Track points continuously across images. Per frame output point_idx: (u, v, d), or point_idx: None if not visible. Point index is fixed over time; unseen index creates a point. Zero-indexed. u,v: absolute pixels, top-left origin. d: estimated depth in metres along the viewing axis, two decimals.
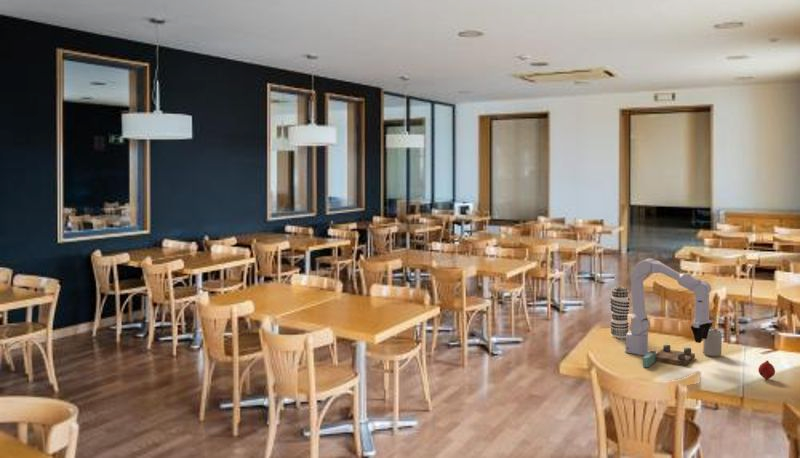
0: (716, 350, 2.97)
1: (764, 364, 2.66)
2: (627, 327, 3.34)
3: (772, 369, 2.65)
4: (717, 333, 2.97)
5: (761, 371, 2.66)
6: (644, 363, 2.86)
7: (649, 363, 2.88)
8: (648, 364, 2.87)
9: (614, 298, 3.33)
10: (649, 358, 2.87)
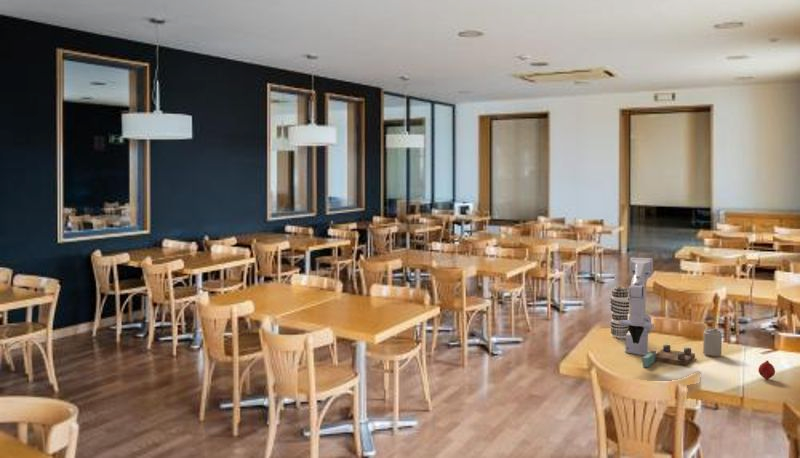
0: (716, 350, 2.97)
1: (764, 364, 2.66)
2: (627, 327, 3.34)
3: (772, 369, 2.65)
4: (717, 333, 2.97)
5: (761, 371, 2.66)
6: (644, 363, 2.86)
7: (649, 363, 2.88)
8: (648, 364, 2.87)
9: (614, 298, 3.33)
10: (649, 358, 2.87)
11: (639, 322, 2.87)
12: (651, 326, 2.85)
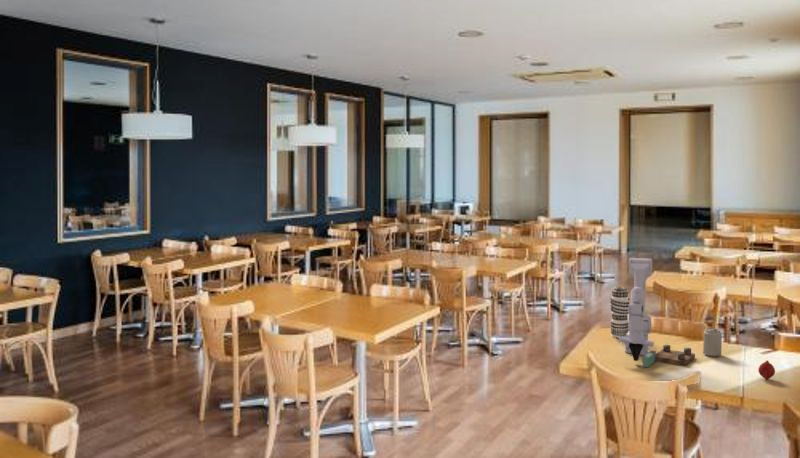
0: (716, 350, 2.97)
1: (764, 364, 2.66)
2: (627, 327, 3.34)
3: (772, 369, 2.65)
4: (717, 333, 2.97)
5: (761, 371, 2.66)
6: (644, 363, 2.86)
7: (649, 363, 2.88)
8: (648, 364, 2.87)
9: (614, 298, 3.33)
10: (649, 358, 2.87)
11: (639, 340, 2.88)
12: (651, 344, 2.86)
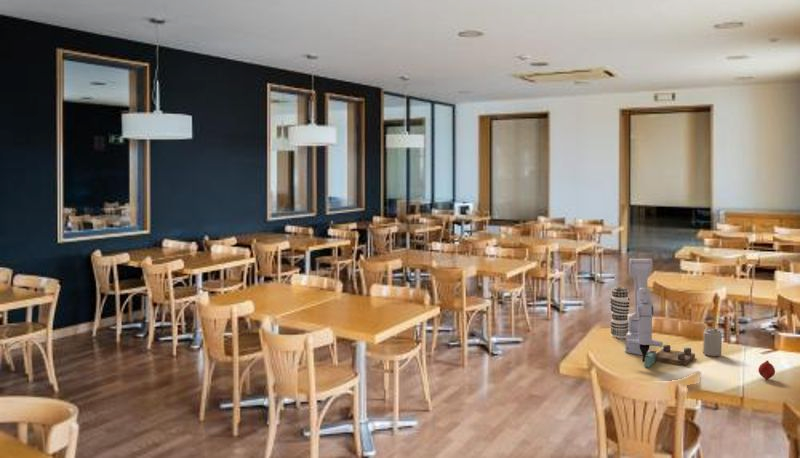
0: (716, 350, 2.97)
1: (764, 364, 2.66)
2: (627, 327, 3.34)
3: (772, 369, 2.65)
4: (717, 333, 2.97)
5: (761, 371, 2.66)
6: (646, 363, 2.86)
7: (650, 363, 2.87)
8: (650, 364, 2.86)
9: (614, 298, 3.33)
10: (650, 358, 2.87)
11: (649, 341, 2.86)
12: (661, 344, 2.85)
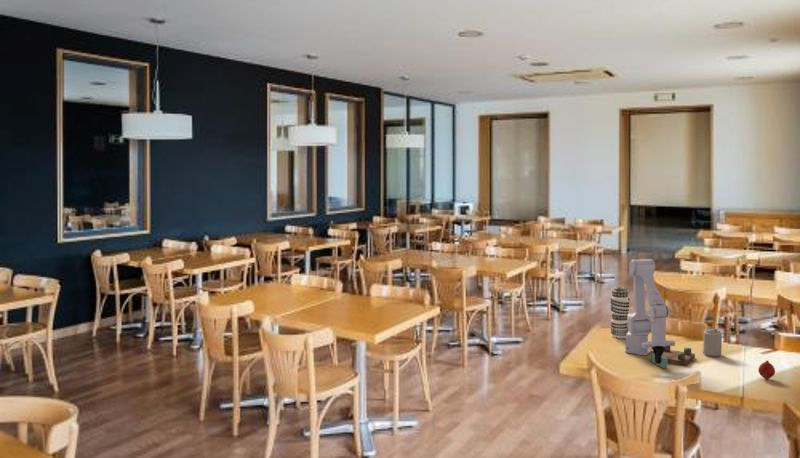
0: (716, 350, 2.97)
1: (764, 364, 2.66)
2: (627, 327, 3.34)
3: (772, 369, 2.65)
4: (717, 333, 2.97)
5: (761, 371, 2.66)
6: (664, 364, 2.84)
7: None
8: None
9: (614, 298, 3.33)
10: None
11: (665, 341, 2.84)
12: (674, 343, 2.86)
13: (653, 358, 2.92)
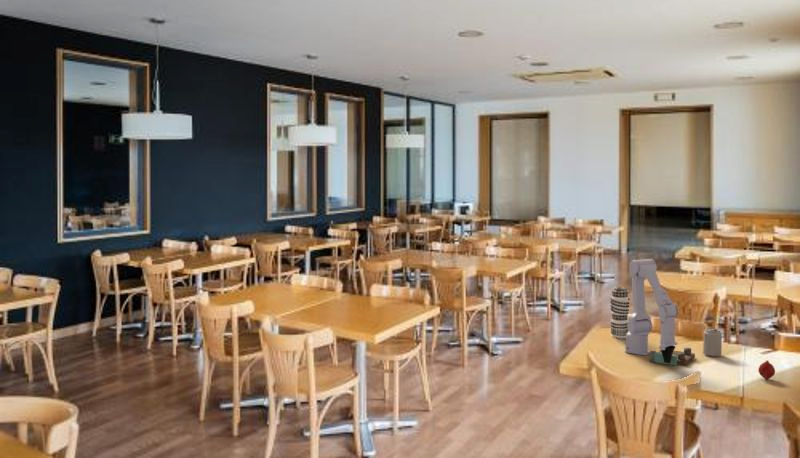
0: (716, 350, 2.97)
1: (764, 364, 2.66)
2: None
3: (772, 369, 2.65)
4: (717, 333, 2.97)
5: (761, 371, 2.66)
6: (676, 361, 2.87)
7: None
8: None
9: (614, 298, 3.33)
10: None
11: None
12: None
13: (657, 358, 2.92)
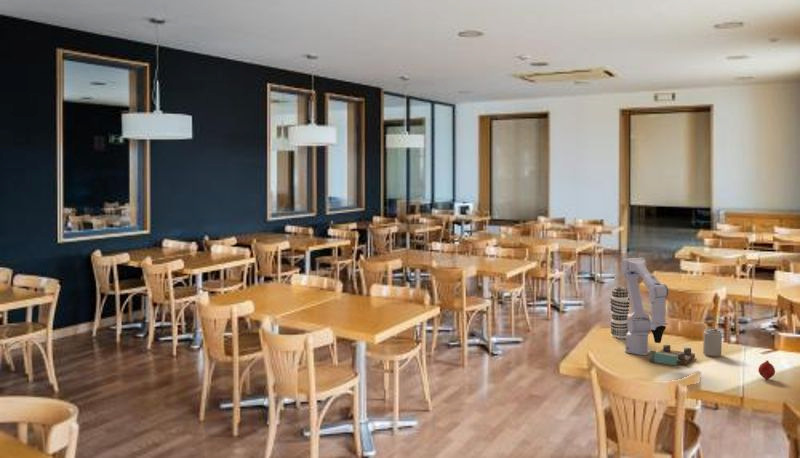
0: (716, 350, 2.97)
1: (764, 364, 2.66)
2: None
3: (772, 369, 2.65)
4: (717, 333, 2.97)
5: (761, 371, 2.66)
6: (676, 361, 2.87)
7: None
8: None
9: (614, 298, 3.33)
10: None
11: None
12: (665, 320, 2.94)
13: (657, 358, 2.92)
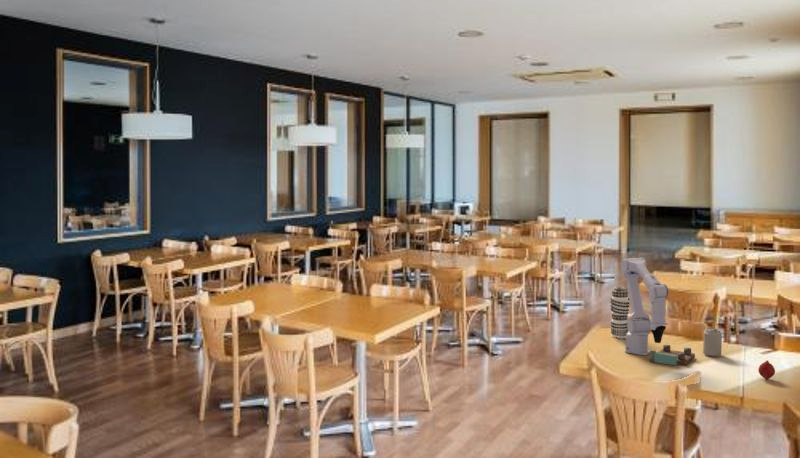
0: (716, 350, 2.97)
1: (764, 364, 2.66)
2: None
3: (772, 369, 2.65)
4: (717, 333, 2.97)
5: (761, 371, 2.66)
6: (676, 361, 2.87)
7: None
8: None
9: (614, 298, 3.33)
10: None
11: None
12: (665, 320, 2.94)
13: (657, 358, 2.92)
